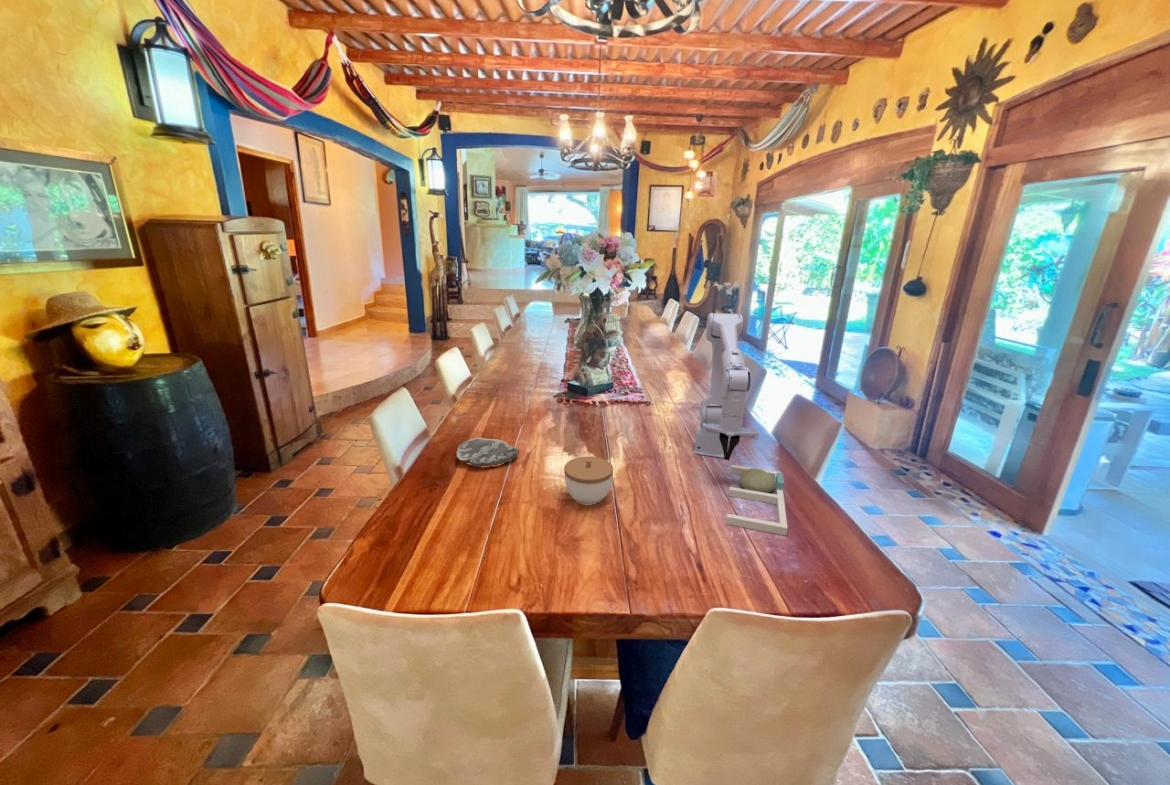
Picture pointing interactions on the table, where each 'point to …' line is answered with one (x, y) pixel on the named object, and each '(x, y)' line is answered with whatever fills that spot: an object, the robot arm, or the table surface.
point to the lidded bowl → (588, 479)
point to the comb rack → (762, 497)
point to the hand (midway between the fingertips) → (726, 458)
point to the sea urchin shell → (757, 480)
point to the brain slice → (486, 452)
